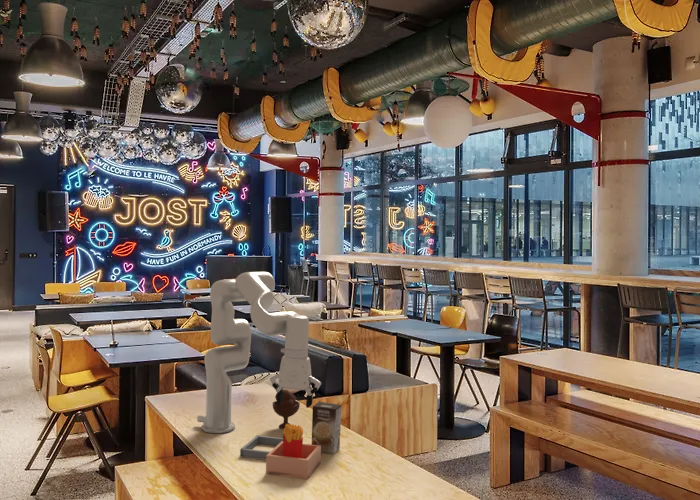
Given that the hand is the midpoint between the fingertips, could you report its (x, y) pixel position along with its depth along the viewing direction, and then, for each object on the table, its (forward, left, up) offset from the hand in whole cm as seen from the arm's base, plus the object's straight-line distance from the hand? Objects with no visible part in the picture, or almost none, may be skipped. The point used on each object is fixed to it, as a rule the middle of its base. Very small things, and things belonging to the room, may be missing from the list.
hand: (294, 405), depth 205 cm
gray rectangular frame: (-15, +12, -21) cm, 28 cm away
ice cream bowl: (-17, +39, -21) cm, 47 cm away
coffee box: (+5, +20, -21) cm, 29 cm away
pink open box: (0, 0, -21) cm, 21 cm away
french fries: (0, 0, -20) cm, 20 cm away
